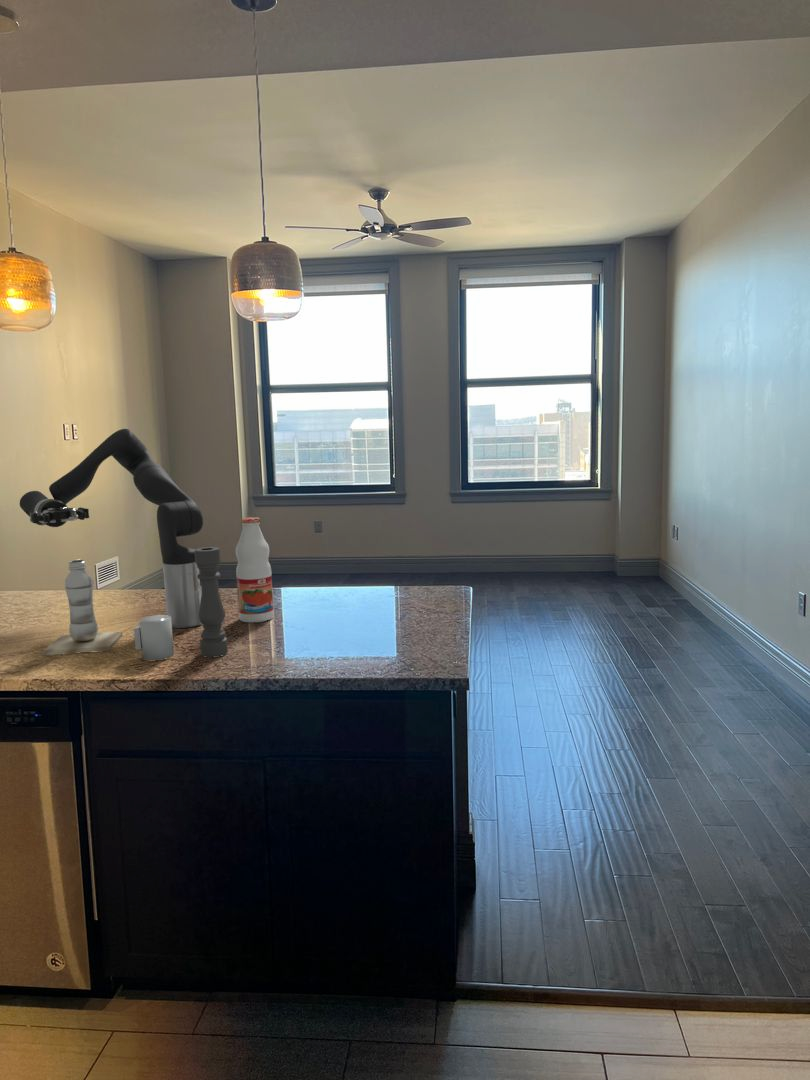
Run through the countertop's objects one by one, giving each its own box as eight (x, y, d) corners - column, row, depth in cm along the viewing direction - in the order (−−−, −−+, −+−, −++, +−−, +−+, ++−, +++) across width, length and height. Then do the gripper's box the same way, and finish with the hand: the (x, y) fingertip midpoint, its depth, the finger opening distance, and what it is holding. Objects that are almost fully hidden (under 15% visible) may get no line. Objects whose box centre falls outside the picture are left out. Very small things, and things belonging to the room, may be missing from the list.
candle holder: (217, 648, 181) (210, 545, 177) (233, 652, 177) (226, 548, 173) (195, 654, 177) (187, 549, 173) (211, 659, 173) (204, 552, 169)
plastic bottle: (89, 644, 183) (81, 564, 179) (64, 643, 184) (56, 563, 181) (104, 637, 189) (97, 559, 186) (80, 636, 190) (72, 558, 187)
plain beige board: (122, 636, 194) (122, 631, 194) (109, 651, 181) (109, 646, 181) (61, 639, 192) (61, 635, 192) (44, 655, 179) (44, 650, 179)
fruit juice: (266, 612, 214) (260, 515, 209) (279, 619, 206) (273, 518, 201) (234, 617, 209) (228, 518, 204) (246, 625, 201) (239, 521, 196)
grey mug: (176, 650, 180) (173, 614, 179) (171, 659, 173) (168, 621, 172) (140, 653, 179) (137, 616, 178) (134, 662, 172) (131, 624, 171)
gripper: (22, 501, 207) (35, 505, 194) (76, 497, 215) (92, 501, 202) (25, 528, 208) (38, 534, 195) (79, 523, 216) (95, 528, 204)
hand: (66, 517), depth 199 cm, fingers open, 8 cm apart
